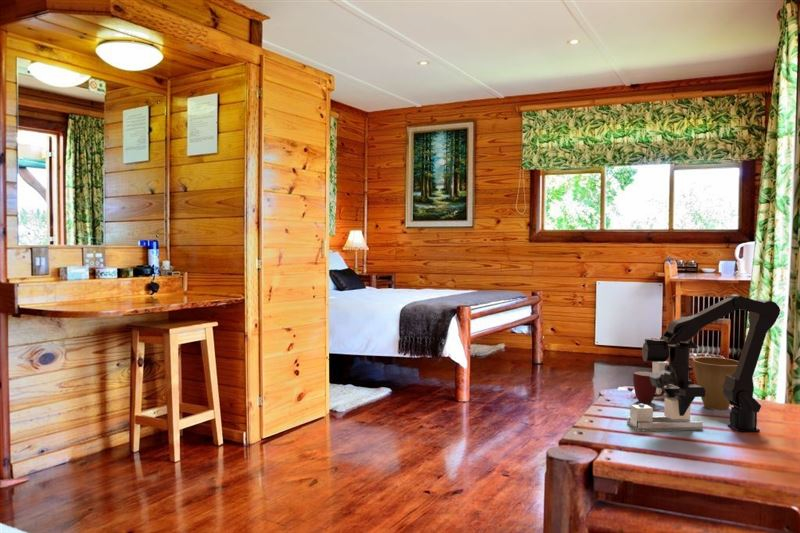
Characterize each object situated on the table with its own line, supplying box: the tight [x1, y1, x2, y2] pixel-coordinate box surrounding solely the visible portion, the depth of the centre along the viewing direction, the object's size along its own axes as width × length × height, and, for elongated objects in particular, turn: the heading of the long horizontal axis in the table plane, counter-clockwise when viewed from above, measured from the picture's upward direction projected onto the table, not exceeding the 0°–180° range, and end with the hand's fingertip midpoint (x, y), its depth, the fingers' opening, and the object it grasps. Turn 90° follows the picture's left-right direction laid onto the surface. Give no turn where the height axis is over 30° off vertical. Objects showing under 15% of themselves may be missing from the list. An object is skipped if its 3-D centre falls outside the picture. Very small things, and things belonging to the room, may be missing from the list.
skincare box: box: [651, 360, 669, 396], centre depth 235 cm, size 6×4×12 cm
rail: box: [626, 403, 704, 432], centre depth 191 cm, size 20×8×7 cm, turn 98°
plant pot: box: [692, 356, 739, 411], centre depth 215 cm, size 15×15×16 cm
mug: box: [632, 370, 665, 404], centre depth 221 cm, size 10×8×10 cm
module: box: [663, 396, 692, 420], centre depth 191 cm, size 6×4×6 cm, turn 98°
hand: (677, 413), depth 191 cm, fingers closed on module, 4 cm apart
